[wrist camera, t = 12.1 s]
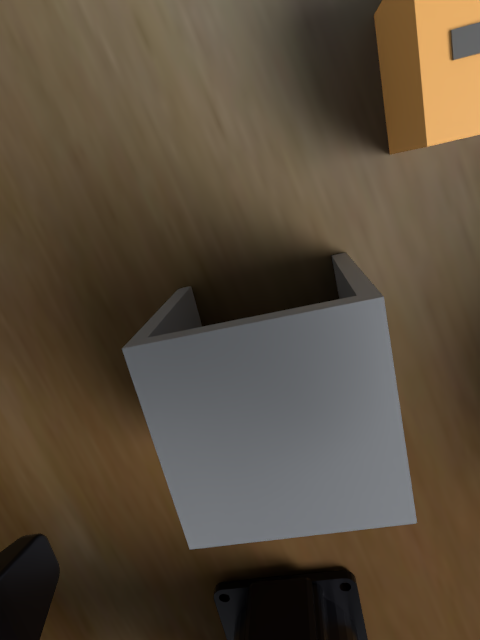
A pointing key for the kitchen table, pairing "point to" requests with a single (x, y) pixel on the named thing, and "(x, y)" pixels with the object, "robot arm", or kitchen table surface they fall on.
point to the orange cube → (429, 70)
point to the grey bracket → (276, 417)
